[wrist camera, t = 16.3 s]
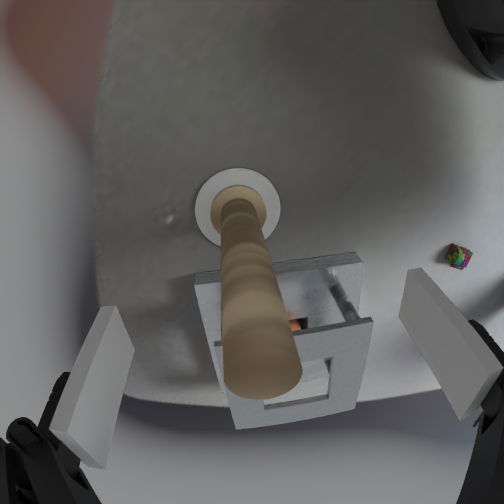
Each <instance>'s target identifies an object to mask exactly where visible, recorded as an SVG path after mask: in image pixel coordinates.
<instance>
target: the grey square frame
mask: <svg viewBox="0 0 504 504" xmlns="http://www.w3.org/2000/svg"><path fill="white" fill-rule="evenodd" d="M272 266H273V269H274V272H275V276H276V279H277V282H278V286H279V289H280V292H281V296H282V299H283V303H284V306H285V309H286V313H287V316H288V320H293V319H299V318H303V329H301V330H295V331H292V333H293V337H294V340H295V344H296V347H297V351H298V354H299V358H300V361H301V362H302V363H301V365H302V369H303V372H302V377H301V379H300V381H299V382H303V381H309V380H314V379H319V378H324V377H329V383H328V391H327V394H325V395H320V396H315V397H310V398H305V399H299V400H294V401H288V402H281V403H275V404H268V405H264V403H263V400H252V399H246V398H242V397H239V396H237V395H235V394H234V393H232V392H231V391H230V390H229V389H228V388H227V387H226V385H225V383H224V372H223V343H222V303H221V270H218V271H210V272H202V273H196V274H195V282H194V287H195V292H196V296H197V300H198V304H199V308H200V313H201V317H202V321H203V325H204V329H205V333H206V336H207V340H208V344H209V348H210V352H211V356H212V359H213V363H214V367H215V370H216V374H217V378H218V381H219V385H220V388H221V392H222V393H224V392H226V395H227V399H228V403H229V406H230V410H231V413H232V417H233V420H234V424H235V427H236V429H245V428H254V427H262V426H269V425H276V424H282V423H289V422H294V421H300V420H306V419H310V418H316V417H321V416H325V415H330V414H334V413H339V412H343V411H347V410H351V409H355V405H356V401H357V397H358V393H359V389H360V385H361V381H362V376H363V372H364V368H365V363H366V358H367V353H368V349H369V343H370V338H371V333H372V327H373V322H374V321H373V320H372V318H371V317H366V318H360V316H359V315H358V309H359V301H360V292H361V282H362V272H363V261H362V260H361V259H360V257H359V256H358V255H357V253H356V252H352V253H345V254H337V255H330V256H323V257H316V258H309V259H301V260H294V261H287V262H279V263H272Z"/></svg>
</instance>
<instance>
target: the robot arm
mask: <svg viewBox="0 0 504 504" xmlns="http://www.w3.org/2000/svg"><path fill="white" fill-rule="evenodd" d="M438 4H439V7H440V10H441V13H442V16H443V18H444V21H445V23H446V25H447V27H448V29H449V31H450V33H451V35H452V37H453V39H454V40H455V42H456V44H457V45H458V47H459V48H460V50H461V51H462V52H463V54H464V55H465V56H466V57H467V59H468V60H469V61H470V62H471V63H472V64H473V65H474V66H475V67H476V68H477V69H478V70H479V71H481V72H482V73H483V74H485V75H486V76H488V77H490V78H492V79H495V80H500V81H504V0H438ZM399 318H400V320H401V322H402V323H403V325H404V326H405V328H406V329H407V331H408V333H409V334H410V336H411V337H412V339H413V341H414V342H415V344H416V345H417V347H418V349H419V350H420V352H421V354H422V355H423V357H424V358H425V360H426V362H427V364H428V365H429V367H430V369H431V370H432V372H433V374H434V375H435V377H436V379H437V381H438V382H439V384H440V386H441V388H442V389H443V391H444V393H445V395H446V397H447V398H448V400H449V402H450V404H451V406H452V407H453V409H454V411H455V413H456V415H457V417H458V419H459V421H460V420H462V419H464V418H467V417H469V416H471V415H473V414H474V413H475V412H476V410H477V409H478V408H479V406H480V405H481V407H482V408H483V412H482V413H481V414H480V416H479V417H478V419H477V420H476V421H475V423H474V425H473V427H475V426H476V425H477V423H478V422H479V426H478V431H477V435H476V440H475V444H474V448H473V452H472V456H471V459H470V463H469V467H468V470H467V473H466V477H465V480H464V483H463V486H462V489H461V492H460V495H459V498H458V501H457V503H456V504H504V352H503V351H502V350H501V348H500V347H499V346H498V345H497V343H496V342H494V339H493V338H492V337H491V336H489V333H488V332H487V331H486V330H485V328H484V327H483V326H482V325H481V324H479V323H478V322H476V321H475V320H473V319H472V320H469V321H467V319H466V318H465V317H464V316H463V315H462V313H461V312H460V311H459V310H458V309H457V307H456V306H455V305H454V304H453V303H452V302H451V300H450V299H449V298H448V297H447V296H446V295H445V293H444V292H443V291H442V290H441V289H440V288H439V287H438V286H437V284H436V283H435V282H434V281H433V280H432V279H431V278H430V277H429V276H428V275H427V273H426V272H425V271H424V270H423V269H422V268H417V269H411V270H408V271H407V277H406V282H405V288H404V293H403V298H402V303H401V307H400V312H399ZM134 351H135V349H134V346H133V344H132V342H131V340H130V337H129V335H128V333H127V330H126V328H125V326H124V323H123V321H122V318H121V316H120V314H119V311H118V309H117V306H116V305H112V306H101V308H100V310H99V312H98V315H97V316H96V319H95V321H94V323H93V325H92V327H91V329H90V331H89V333H88V335H87V337H86V340H85V342H84V344H83V346H82V348H81V350H80V353H79V355H78V357H77V359H76V362H75V364H74V367H73V369H72V371H71V372H64V373H63V374H62V375H61V376H60V377H59V379H58V380H57V381H56V383H55V385H54V387H53V390H52V393H51V395H50V397H49V401H48V402H47V404H46V407H45V409H44V412H43V414H42V417H41V419H40V422H39V425H38V427H37V426H36V425H35V424H34V423H33V422H32V421H31V420H30V419H28V418H25V417H21V418H18V419H15V420H14V421H13V422H12V423H11V424H10V426H9V427H8V429H7V432H6V439H7V440H8V441H9V442H10V443H6V442H5V441H4V440H3V439H2V438H0V504H102V503H101V502H100V500H99V499H98V497H97V495H96V494H95V492H94V490H93V489H92V487H91V485H90V484H89V482H88V480H87V478H86V476H85V474H84V473H83V471H82V470H81V468H80V467H79V465H80V461H82V462H83V463H84V464H86V465H87V466H88V467H93V468H99V469H105V468H106V464H107V458H108V454H109V449H110V445H111V440H112V436H113V431H114V427H115V423H116V418H117V414H118V410H119V406H120V402H121V399H122V395H123V391H124V387H125V383H126V380H127V376H128V372H129V369H130V365H131V362H132V358H133V355H134Z"/></svg>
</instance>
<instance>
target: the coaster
mask: <svg viewBox="0 0 504 504" xmlns="http://www.w3.org/2000/svg"><path fill="white" fill-rule="evenodd" d="M232 185H245V186H248V187H251V188H252V189H254V190H255V191H257V192H258V193H259V195H260V196H261V198H262V199H263V202H264V204H265V207H266V220H265V223H264V225H263V227H262V232H263V236H264V239H267V238H268V237H269V236H270V235H271V233H272V232H273V231H274V229H275V227H276V226H277V223H278V221H279V217H280V200H279V196H278V194H277V192H276V190H275V188H274V186H273V185H272V184H271V182H270V181H269V180H268V179H267V178H266V177H264V176H263V175H261V174H260V173H258V172H256V171H253V170H250V169H245V168H231V169H226V170H223V171H221V172H219V173H217V174H215V175H213V176H212V177H211V178H209V179H208V180H207V181H206V182H205V184H204V185H203V186H202V188H201V189H200V191H199V193H198V196H197V199H196V203H195V217H196V221H197V224H198V226H199V228H200V230H201V232H202V233H203V234H204V235H205V236H206V237H207V238H208V239H209V240H210V241H211V242H213V243H214V244H216V245H218V246H220V247H221V235H220V234H219V233H218V232H217V231H216V230H215V229H214V227H213V225H212V222H211V217H210V213H211V205H212V202H213V200H214V198H215V196H216V195H217V194H218V193H219V192H220V191H221V190H222V189H224V188H226V187H228V186H232Z"/></svg>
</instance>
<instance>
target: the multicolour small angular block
mask: <svg viewBox="0 0 504 504" xmlns="http://www.w3.org/2000/svg"><path fill="white" fill-rule="evenodd" d="M472 254H473V253H472V252H471V251H470V250H468V249H466V248H463V247H461V246H460V247H459V246H458V245H455V244H453V243H452V244H451V246H450V249H449V251H448V253H447V255H446V257H445V259H446V260H447V261H448V262H449V263H451V266H450V267H454V268H457V269H460V270H462V269H463V268H464V267H465V268H466V266H467V264H468V262H469V260H470V258H471V256H472Z"/></svg>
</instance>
